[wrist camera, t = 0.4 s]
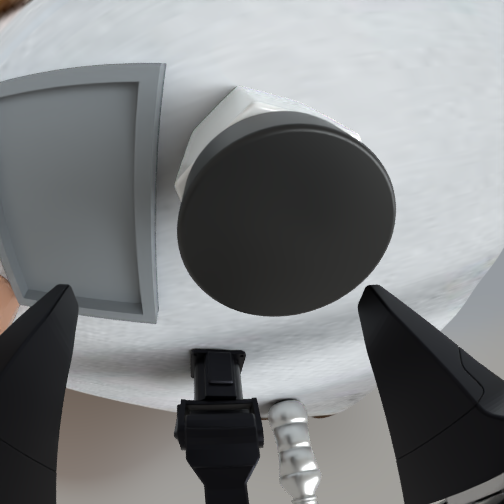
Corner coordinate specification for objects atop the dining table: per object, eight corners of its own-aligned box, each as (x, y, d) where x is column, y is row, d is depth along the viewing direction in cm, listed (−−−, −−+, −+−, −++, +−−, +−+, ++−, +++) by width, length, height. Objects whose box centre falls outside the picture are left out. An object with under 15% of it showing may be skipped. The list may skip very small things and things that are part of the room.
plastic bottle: (265, 399, 43) (284, 511, 28) (306, 392, 44) (331, 502, 28) (266, 412, 47) (282, 511, 31) (302, 406, 48) (324, 503, 32)
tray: (158, 308, 28) (156, 323, 27) (25, 291, 25) (19, 304, 23) (166, 63, 15) (160, 63, 14) (-15, 86, 12) (-30, 91, 11)
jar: (181, 185, 21) (156, 306, 11) (205, 76, 16) (186, 91, 7) (295, 206, 23) (349, 324, 13) (330, 110, 18) (437, 173, 9)
